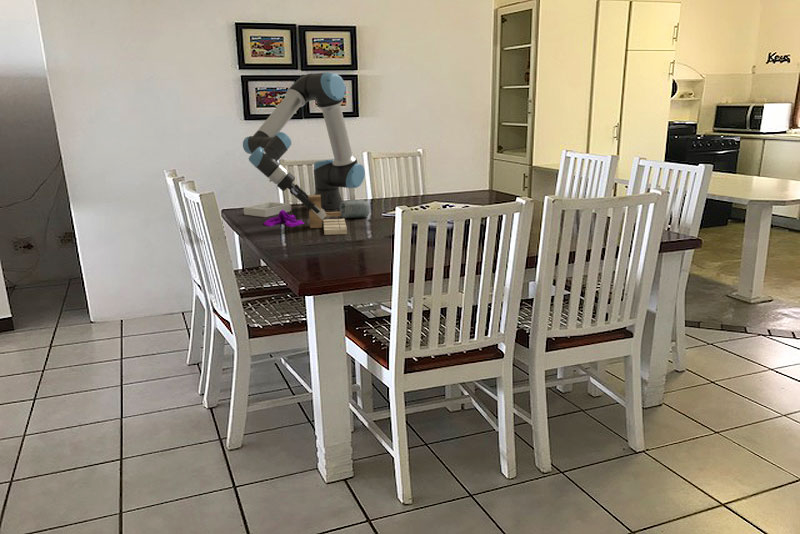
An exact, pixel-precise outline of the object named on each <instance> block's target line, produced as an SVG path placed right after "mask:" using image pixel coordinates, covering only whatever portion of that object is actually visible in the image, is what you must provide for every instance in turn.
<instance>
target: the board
mask: <svg viewBox="0 0 800 534" xmlns="http://www.w3.org/2000/svg"><path fill="white" fill-rule="evenodd" d="M322 223H323V232H324V233H323V235H324V236H329V235H330V236H331V235H348V227H347V224H346V219H345V218H331V219H330V218H329V219H326V218H324V219H323V220H322Z"/></svg>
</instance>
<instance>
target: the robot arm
mask: <svg viewBox="0 0 800 534" xmlns="http://www.w3.org/2000/svg"><path fill="white" fill-rule="evenodd" d="M346 89H347V88H346V83H345V81H344V79H343V78H342V76H341V75H339V74H338V73H336V72H328V71H327V72H315V73H314V72H313V73H307V74H305V75H302V76H301V77H299V78H298V79H297V80H296V81H294V83H292V85H290V86H289V88H288V89H287V90H286V94H285V96H284V98H283V99H282V100H281V101H280V103H279V104H278V105H277V106H276V107H275V109H274V110H273V111H272V112H271V114H270V115H269V116H268V117H267V118H266V119H265V121H264V122H263V123H262V125H260V127H259V128H258V129H257V131H256V132H255V133H254V134H253V135H249V136H246V137H245V138H244V139H243V141H242V148H243V150H244V152H245V153H246V154H249V157H248V161H249V162H250V164H251V165H252V166H253V167H255V168H256V169H257V170H258V171H259V172H261V174H263V175H264V176H265V177H267V178H268V179H269V180H268V181H269V183H271V182H272V183H273V184H274V185H276V186H277V187H278V188H279V190H281V191H282V192H284V191H286V190H287V189H288V190H289V193H290V194H291V195H293V196H294V197H295V198H296V199H298V200H299V202H301V203H302V204H303V205H304V206H305V207H307V210H308V212H309V211H310V210H312V211H313V212H314V213H315V214H316V215H317V216H319V217H320V218H321V219H322V221H323V220H325V219H326V218H327V217H326V216H327V215H326V214H325V213H324V212H326V211H325V210H336V209H340V204H341V202H343V201H344V200H343V199H342V195H341V192H340V188H344V189H345V188H346V189H357V188H360V187H361V185H362V184H363V182H364V179H365V175H366V173H365V172H366V170H365V167H364V166H363V165H362V164H361V163H359V162H358V159H357V157H356V156H355V155H354V154H353V152H352V147H351V143H350V139H349V135H348V131H347V126H346V123H345V119H344V115H343V110H342V103H343V101H344V100H343V99H344V97H345V95H346V93H345V92H346ZM310 101H311V102H312V101H316V105H317V108H318V109H321V111H322V115H323V119H324V123H325V126H326V130H327V135H328V138H329V142H330V146H331V151H332V153H333V154H332V155H333V158H334V159H326V160H318V161H315V162H314V164H313V178H314V179H313V180H314V195H321V209H320V208H319V207H317V206H316V205H314V203H312V202H311V201H310V200H309V199H308V194H307V192H305V191H304V190H303V189H302V188H300V186H299V185H298V184H297V183H296V184H294V181H295V180H296V177H295V176H294V175H293V174H292V173H291V172H288V170H287V169H286V167H284V166H283V165H282V164H280V163H279V162H278V161H279V160H280V159H281V158H282V157H283V155H285V154H286V153H287V151H288V150H289V148H290V147H291V146H292V139H291V138H290V136H289V135H288V134H287V133H285V132H282V130H283V128H284V127H285V126H286V125H287V123H288V122H289V121H290V120H291V119H292V117H293V116H294V115H295V113H297V111H298V110H299V108H302V107H304V106H305V105H306V103H307V104H308V102H310Z"/></svg>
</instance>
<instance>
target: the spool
mask: <svg viewBox="0 0 800 534" xmlns="http://www.w3.org/2000/svg"><path fill="white" fill-rule="evenodd" d="M342 201H343V202H341V204H340V208H339V212H341V216H340V217H341V219H345V220H347V219H355V218H358V219H359V218H361V219H363V218H367V217H369V215H370V212H371V206H370V203H369V202H368V201H367V200H365V199H349V200H342Z"/></svg>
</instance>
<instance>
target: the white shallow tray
mask: <svg viewBox="0 0 800 534" xmlns="http://www.w3.org/2000/svg"><path fill="white" fill-rule="evenodd" d="M281 210H284V211H285V212H286V213H291V212H292V204H291V203H284V202H283V203H282V202H275V201H267V202H262V203H257V204H253V205H248V206H244V207H243V215H245V216H251V217H252V216H254V217H262V218H268V217H272V216H273V217H274V216H277V215H279V212H280V211H281ZM290 211H291V212H290Z"/></svg>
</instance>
